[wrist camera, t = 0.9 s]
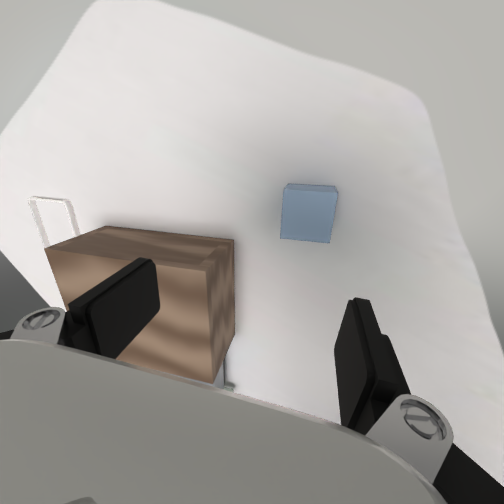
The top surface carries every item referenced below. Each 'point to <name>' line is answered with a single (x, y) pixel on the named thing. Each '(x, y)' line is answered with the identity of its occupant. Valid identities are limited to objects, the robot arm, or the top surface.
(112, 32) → the top surface
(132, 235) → the cabinet
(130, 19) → the top surface
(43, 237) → the phone case
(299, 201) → the blue block
